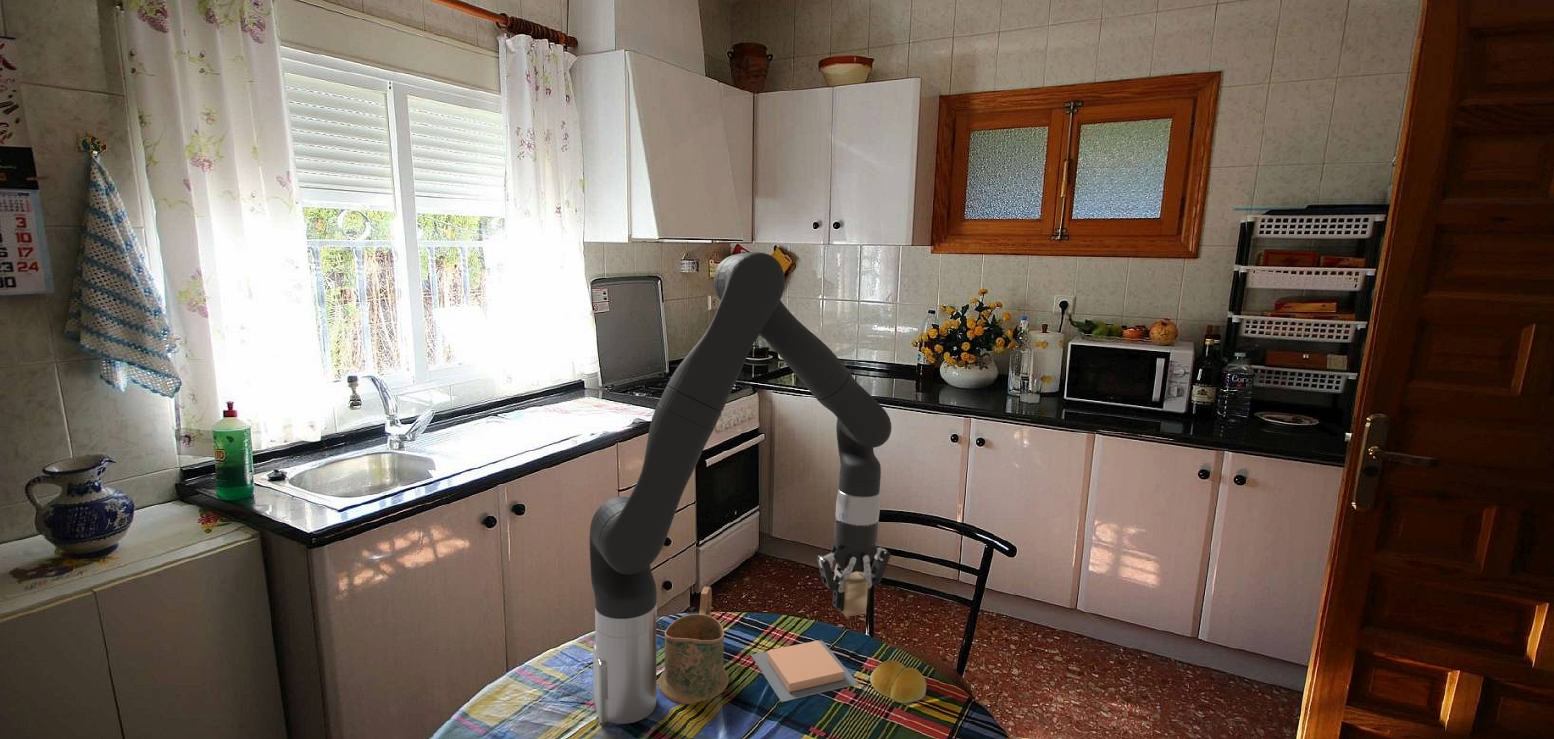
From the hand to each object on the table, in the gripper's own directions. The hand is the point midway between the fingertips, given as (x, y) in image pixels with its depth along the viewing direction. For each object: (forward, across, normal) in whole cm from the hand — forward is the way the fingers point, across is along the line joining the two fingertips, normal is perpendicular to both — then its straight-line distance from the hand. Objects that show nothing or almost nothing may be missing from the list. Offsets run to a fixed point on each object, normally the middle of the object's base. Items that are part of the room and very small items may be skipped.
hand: (850, 607), depth 126 cm
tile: (+8, +10, -3) cm, 13 cm away
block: (+1, 0, 0) cm, 1 cm away
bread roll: (+10, -3, +12) cm, 15 cm away
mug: (+10, +26, -4) cm, 29 cm away
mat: (+9, +10, +2) cm, 14 cm away
